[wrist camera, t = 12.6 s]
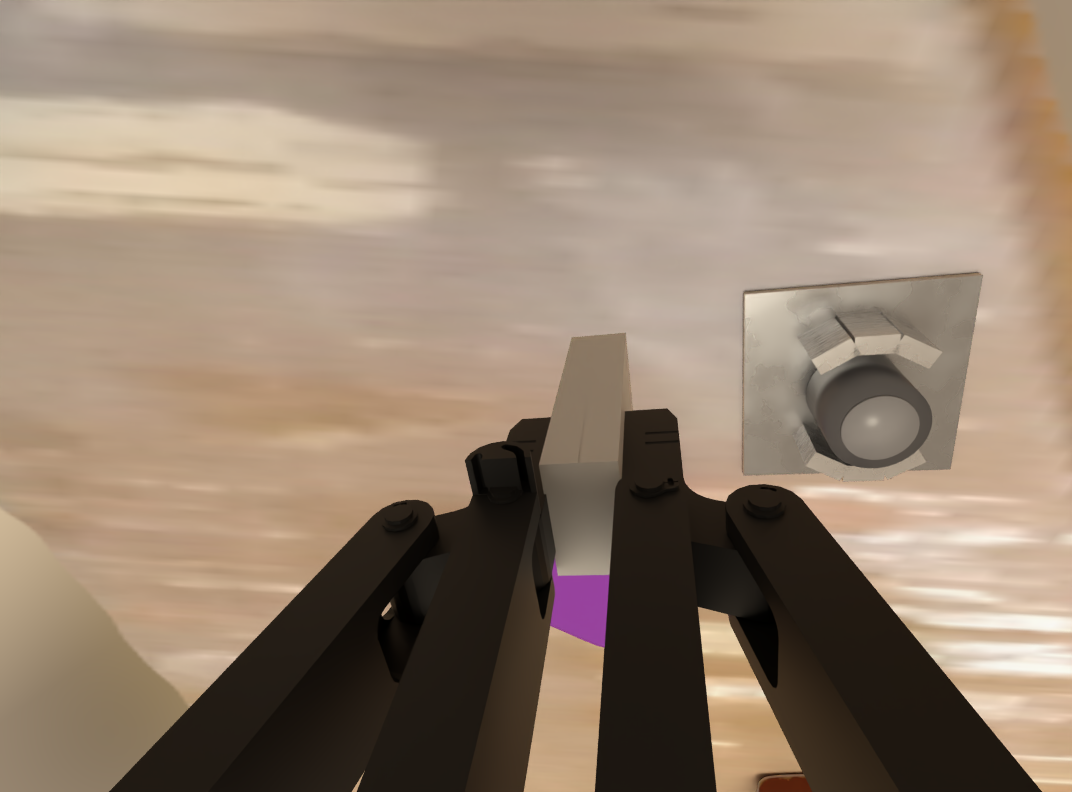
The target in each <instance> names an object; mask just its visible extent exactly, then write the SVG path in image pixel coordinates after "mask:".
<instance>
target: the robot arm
mask: <svg viewBox="0 0 1072 792" xmlns="http://www.w3.org/2000/svg"><path fill="white" fill-rule="evenodd" d="M465 463H466V467H467V471H468V476H469V480H470V484H471V489H472V493H473V496H472V499H471V501H470V504H469V506H468V507H466V508H463V509H460V510H457V511H454V512H449V513H445V514H441V515H437V516H435V515H434V511H433V508H432V507H431V506H430V505H429V504H428V503H426V502H423V501H420V500H405V501H401V502H396V503H393V504H391V505H389V506H387V507H385V508H382V509H381V510H380V511H379V512H377V513H376V514H375V515H373V516H372V517H371V518H370V520H369V521H368V522H367V523H366V524H365V525H364V526H363V527H362V528H361V529H360V530H359V531H358V532H357V533H356V534H355V535H354V536H353V537H352V538H351V539H350V540H349V541H348V543H347V544H346V545H345V546H344V547H343V548H342V549H341V550H340V551H339V552H338V553H337V554H336V555H335V556H334V557H333V558H332V559H331V560H330V561H329V562H328V563H327V564H326V566H325V567H324V568H323V569H322V570H321V571H320V572H319V573H318V574H317V575H316V576H315V577H314V578H313V579H312V580H311V581H310V582H309V583H308V584H307V585H306V586H305V588H304V589H303V590H302V591H301V592H300V593H299V594H298V595H297V596H296V597H295V598H294V599H293V600H292V601H291V602H290V603H289V604H288V605H287V606H286V607H285V608H284V609H283V611H282V612H281V613H280V614H279V615H278V616H277V617H276V618H275V619H274V620H273V621H272V622H271V623H270V624H269V625H268V626H267V627H266V628H265V629H264V630H263V631H262V632H261V634H260V635H259V636H258V637H257V638H256V639H255V640H254V641H253V642H252V643H251V644H250V645H249V646H248V647H247V648H246V649H245V650H244V651H243V652H242V653H241V654H240V655H239V657H238V658H237V659H236V660H235V661H234V662H233V663H232V664H231V665H230V666H229V667H228V668H227V669H226V670H225V671H224V672H223V673H222V674H221V675H220V676H219V677H218V678H217V680H216V681H215V682H214V683H213V684H212V685H211V686H210V687H209V688H208V689H207V690H206V691H205V692H204V693H203V694H202V695H201V696H200V697H199V698H198V699H197V700H196V702H195V703H194V704H193V705H192V706H191V707H190V708H189V709H188V710H187V711H186V712H185V713H184V714H183V715H182V716H181V717H180V718H179V719H178V720H177V722H175V723H174V725H173V726H172V727H171V728H170V729H169V730H168V731H167V732H166V733H165V734H164V735H163V736H162V737H161V738H160V739H159V740H158V741H157V742H156V743H155V744H154V745H153V746H152V748H151V749H150V750H149V751H148V752H147V753H146V754H145V755H144V756H143V757H142V758H141V759H140V760H139V761H138V762H137V763H136V764H135V765H134V766H133V767H132V768H131V770H130V771H129V772H128V773H127V774H126V775H125V776H124V777H123V778H122V779H121V780H120V781H119V782H118V783H117V784H116V785H115V786H114V787H113V788H112V789H111V790H110V791H109V792H352V790H353V789H354V787H355V785H356V784H357V782H358V781H359V779H360V777H361V776H362V774H363V773H364V774H363V777H362V780H361V782H360V785H359V787H358V790H357V792H524V786H525V780H526V773H527V767H528V761H529V755H530V748H531V742H532V736H533V730H534V723H535V717H536V711H537V705H538V698H539V692H540V686H541V680H542V673H543V667H544V661H545V655H546V648H547V642H548V636H549V630H550V624H551V617H552V611H553V605H554V599H555V587H554V581H553V575H552V571H553V565H554V560H555V561H556V567H557V573H558V576H567V575H609V588H608V603H607V618H606V633H605V648H604V663H603V678H602V693H601V708H600V723H599V739H598V754H597V769H596V784H595V792H717V791H716V782H715V772H714V762H713V752H712V742H711V733H710V723H709V713H708V703H707V693H706V684H705V674H704V664H703V654H702V644H701V635H700V625H699V615H698V607H701V608H705V609H709V610H713V611H717V612H721V613H725V614H728V616H729V621H730V625H731V627H732V629H733V631H734V633H735V635H736V637H737V639H738V641H739V643H740V645H741V647H742V649H743V651H744V653H745V655H746V657H747V659H748V661H749V663H750V666H751V668H752V670H753V672H754V674H755V676H756V678H757V680H758V682H759V684H760V686H761V688H762V690H763V692H764V694H765V696H766V698H767V700H768V702H769V704H770V706H771V708H772V710H773V712H774V715H775V717H776V719H777V721H778V723H779V725H780V727H781V729H782V731H783V733H784V735H785V737H786V739H787V741H788V743H789V745H790V747H791V749H792V751H793V753H794V755H795V757H796V759H797V761H798V764H799V766H800V768H801V770H802V772H803V774H804V776H805V778H806V780H807V782H808V784H809V786H810V788H811V790H812V792H1042V791H1041V790H1040V789H1039V788H1038V786H1037V785H1036V784H1035V783H1034V781H1033V780H1032V779H1031V778H1030V777H1029V775H1028V774H1027V773H1026V772H1025V771H1024V769H1023V768H1022V767H1021V766H1020V764H1019V763H1018V762H1017V761H1016V760H1015V758H1014V757H1013V756H1012V755H1011V753H1010V752H1009V751H1008V750H1007V749H1006V747H1005V746H1004V745H1003V744H1002V742H1001V741H1000V740H999V739H998V738H997V736H996V735H995V734H994V733H993V732H992V730H991V729H990V728H989V727H988V725H987V724H986V723H985V722H984V721H983V719H982V718H981V717H980V716H979V714H978V713H977V712H976V711H975V710H974V708H973V707H972V706H971V705H970V704H969V702H968V701H967V700H966V699H965V697H964V696H963V695H962V694H961V693H960V691H959V690H958V689H957V688H956V686H955V685H954V684H953V683H952V682H951V680H950V679H949V678H948V677H947V676H946V674H945V673H944V672H943V671H942V669H941V668H940V667H939V666H938V665H937V663H936V662H935V661H934V660H933V658H932V657H931V656H930V655H929V654H928V652H927V651H926V650H925V649H924V648H923V646H922V645H921V644H920V643H919V641H918V640H917V639H916V638H915V637H914V635H913V634H912V633H911V632H910V630H909V629H908V628H907V627H906V626H905V624H904V623H903V622H902V621H901V620H900V618H899V617H898V616H897V615H896V613H895V612H894V611H893V610H892V609H891V607H890V606H889V605H888V604H887V602H886V601H885V600H884V599H883V598H882V596H881V595H880V594H879V593H878V592H877V590H876V589H875V588H874V587H873V585H872V584H871V583H870V582H869V581H868V579H867V578H866V577H865V576H864V574H863V573H862V572H861V571H860V570H859V568H858V567H857V566H856V565H855V564H854V562H853V561H852V560H851V559H850V557H849V556H848V555H847V554H846V553H845V551H844V550H843V549H842V548H841V546H840V545H839V544H838V543H837V542H836V540H835V539H834V538H833V537H832V536H831V534H830V533H829V532H828V531H827V529H826V528H825V527H824V526H823V525H822V523H821V522H820V521H819V520H818V518H817V517H816V516H815V515H814V514H813V512H812V511H811V510H810V509H809V508H808V506H807V505H806V504H805V503H804V501H803V500H802V499H801V498H800V497H798V496H797V495H796V494H795V493H793V492H792V491H789V490H787V489H784V488H782V487H779V486H773V485H766V484H760V485H749V486H745V487H742V488H739V489H737V490H735V491H734V492H733V493H731V494H730V495H729V496H728V498H727V501H726V502H724V501H718V500H713V499H709V498H705V497H703V496H701V495H698V494H696V493H695V492H693V491H692V490H691V489H689V487H688V486H687V485H686V484H685V481H684V478H683V469H682V460H681V450H680V441H679V431H678V422H677V418H676V417H675V416H674V415H673V414H672V413H671V412H670V411H669V410H668V409H652V410H636V411H633V406H632V396H631V385H630V375H629V364H628V353H627V343H626V333H618V334H607V335H595V336H584V337H573V338H572V339H571V343H570V347H569V351H568V354H567V358H566V362H565V366H564V370H563V374H562V378H561V381H560V385H559V389H558V393H557V397H556V401H555V404H554V408H553V412H552V416H551V417H549V418H533V419H522V420H521V421H520V422H519V423H517V424H516V425H515V426H514V427H513V428H512V429H511V430H510V432H509V435H508V438H507V440H506V441H502V442H496V443H491V444H488V445H485V446H482V447H480V448H478V449H476V450H475V451H473V452H472V453H470V455H469V456H468V457H467V458H466V460H465ZM389 602H390V603H391V606H392V607H391V608H390V609H389V610H388V612H387V613H386V614H385V615H384V616H382V615H381V614H382V612H383V610H384V609H385V607H386V606H387V605H388V603H389ZM364 771H365V772H364Z"/></svg>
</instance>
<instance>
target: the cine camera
mask: <svg viewBox="0 0 1072 792" xmlns="http://www.w3.org/2000/svg"><path fill="white" fill-rule="evenodd" d="M757 792H812V790H811V788H810V786H809V784H808V782H807V780H806V778H805V776H804V774H789V775H773V776H768V777H764V778H763V779H761V780H760V781H759V782H758V787H757Z"/></svg>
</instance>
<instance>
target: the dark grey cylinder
mask: <svg viewBox="0 0 1072 792" xmlns="http://www.w3.org/2000/svg"><path fill="white" fill-rule="evenodd" d="M806 401H807V405H808V408H809V410H810V412H811V414H812V415H813V417H814V419H815V421H816V423H817V424H818V426H819V428H820V430H821V432H822V433H823V435H824V437H825V439H826V441H827V443H828V444H829V446H830V448H831V449H832V451H833V452H834V454H835V455H836V456H837V457H838V458H840V459H841V460H842V461H844V462H846V463H848V464H850V465H853V466H856V467H861V468H882V467H887V466H891V465H894V464H897V463H899V462H901V461H903V460H905V459H906V458H908V457H910V456H911V455H912V454H914V453H915V452H916V451H917V450H918V449H919V448H920V447H921V446H922V445H923V443H924V442H925V441H926V439H927V437H928V435H929V433H930V430H931V427H932V411H931V408H930V405H929V404H928V402H927V400H926V399H925V398H924V397H923V395H922V394H921V393H920V392H919V391H918V390H917V389H916V388H915V387H914V386H913V385H912V384H911V382H910V381H909V380H908V379H907V378H906V377H905V376H904V375H903V374H902V373H901V372H900V371H899V370H898V368H897V367H896V366H895V365H894V364H893V363H892V362H891V361H890V360H889V359H887V358H886V357H884V356H883V355H881V354H875V355H859V356H856V357H854V358H852V359H850V360H848V361H846V362H844V363H843V364H841V365H839V366H837V367H835V368H833V369H831V370H829V371H828V372H826V373H824V374H822V375H821V374H820V373H819V371H818V369H817V370H816V371H815V373H814V374H813V375H812V377H811V379H810V381H809V383H808V386H807V391H806Z"/></svg>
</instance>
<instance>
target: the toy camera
mask: <svg viewBox="0 0 1072 792" xmlns="http://www.w3.org/2000/svg"><path fill="white" fill-rule="evenodd" d="M552 575H553V581H554V587H555V599H554V605H553V611H552V617H551V624H550V626H552V627H554V628H557V629H559V630H561V631H564V632H566V633H568V634H570V635H573V636H575V637H577V638H580V639H582V640H584V641H587V642H589V643H592V644H594V645H597V646H600V647H605V633H606V618H607V603H608V588H609V575H567V576H558V573H557V567H556V561H555V560H554V565H553V571H552Z"/></svg>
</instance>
